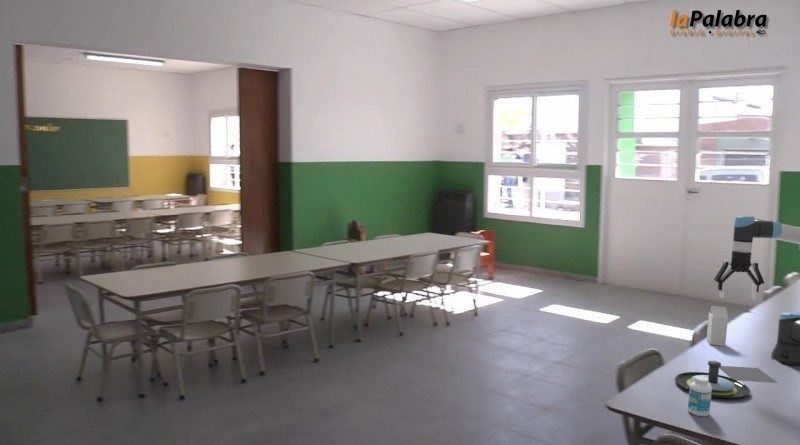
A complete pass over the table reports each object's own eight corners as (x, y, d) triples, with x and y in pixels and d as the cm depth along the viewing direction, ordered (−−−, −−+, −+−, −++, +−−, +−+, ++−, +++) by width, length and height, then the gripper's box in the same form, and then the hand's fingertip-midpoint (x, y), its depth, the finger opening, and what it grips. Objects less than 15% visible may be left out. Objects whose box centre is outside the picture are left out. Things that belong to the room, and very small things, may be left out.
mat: (757, 369, 288) (757, 367, 288) (777, 383, 270) (777, 382, 270) (716, 366, 290) (716, 365, 290) (733, 381, 272) (733, 380, 272)
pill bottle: (683, 408, 242) (686, 374, 240) (702, 408, 242) (705, 374, 241) (694, 417, 234) (697, 381, 233) (713, 417, 235) (716, 381, 233)
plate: (718, 407, 245) (719, 401, 245) (659, 382, 270) (660, 377, 270) (764, 396, 258) (765, 390, 258) (704, 373, 283) (704, 368, 282)
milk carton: (725, 346, 321) (728, 309, 319) (710, 345, 322) (713, 308, 320) (721, 342, 328) (724, 305, 326) (706, 340, 329) (709, 304, 327)
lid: (725, 378, 271) (727, 357, 270) (740, 392, 255) (742, 370, 254) (686, 375, 273) (687, 355, 271) (698, 389, 257) (700, 368, 256)
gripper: (767, 250, 282) (762, 297, 285) (708, 248, 284) (704, 295, 287) (775, 253, 275) (770, 301, 277) (715, 251, 277) (711, 299, 280)
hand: (737, 298), depth 282 cm, fingers open, 13 cm apart
